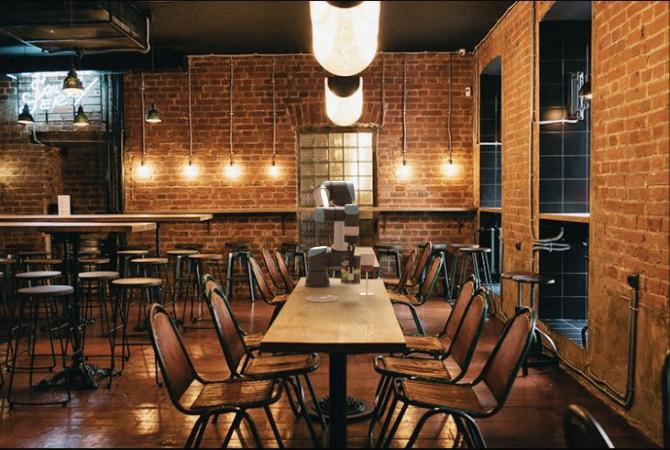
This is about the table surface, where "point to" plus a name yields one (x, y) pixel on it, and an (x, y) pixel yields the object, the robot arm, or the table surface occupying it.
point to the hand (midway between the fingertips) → (350, 277)
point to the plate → (322, 298)
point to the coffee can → (345, 270)
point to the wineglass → (367, 267)
